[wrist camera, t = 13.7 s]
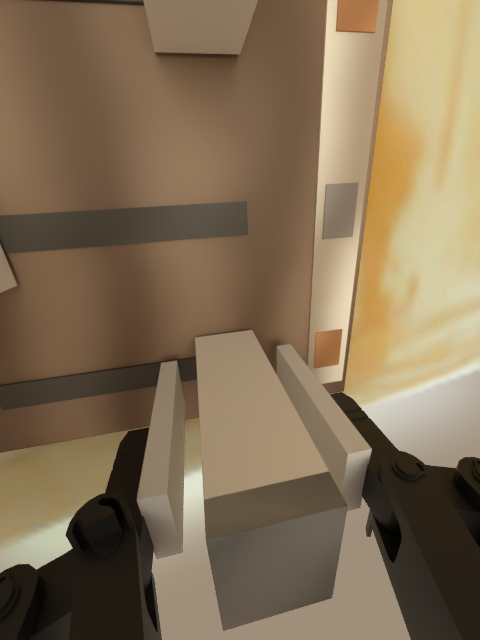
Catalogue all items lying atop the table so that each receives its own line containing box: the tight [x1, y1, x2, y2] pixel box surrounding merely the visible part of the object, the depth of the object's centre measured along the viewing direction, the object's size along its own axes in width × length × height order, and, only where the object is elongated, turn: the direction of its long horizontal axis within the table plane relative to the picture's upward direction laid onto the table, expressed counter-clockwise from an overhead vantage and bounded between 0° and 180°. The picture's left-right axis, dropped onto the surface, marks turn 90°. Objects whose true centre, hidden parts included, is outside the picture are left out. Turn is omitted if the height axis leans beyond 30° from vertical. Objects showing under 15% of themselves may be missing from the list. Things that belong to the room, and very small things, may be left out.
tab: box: [195, 330, 348, 631], centre depth 10 cm, size 3×4×9 cm
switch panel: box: [0, 0, 393, 453], centre depth 12 cm, size 25×22×3 cm
